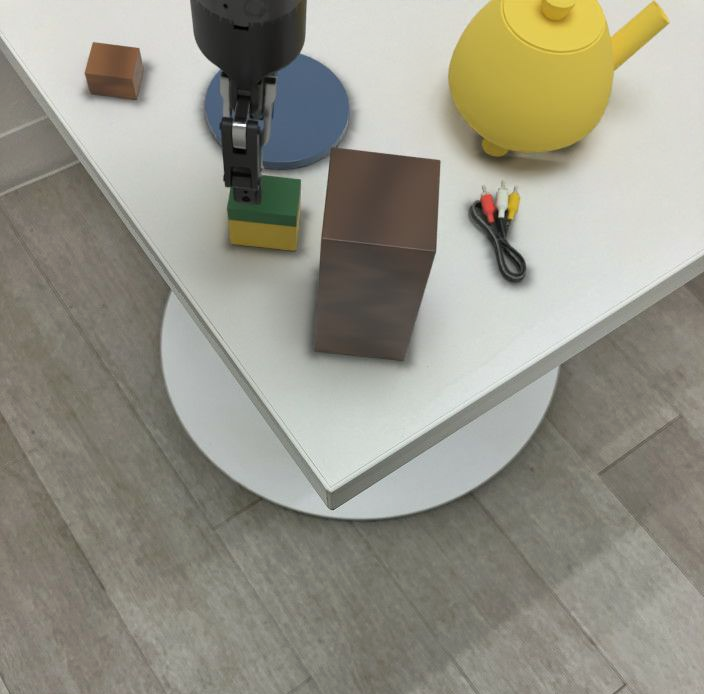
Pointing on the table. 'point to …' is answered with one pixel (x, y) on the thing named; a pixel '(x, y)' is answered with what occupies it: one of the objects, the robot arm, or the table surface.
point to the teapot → (541, 70)
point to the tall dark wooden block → (375, 251)
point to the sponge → (268, 216)
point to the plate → (295, 114)
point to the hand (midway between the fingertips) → (254, 158)
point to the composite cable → (500, 226)
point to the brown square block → (114, 70)
